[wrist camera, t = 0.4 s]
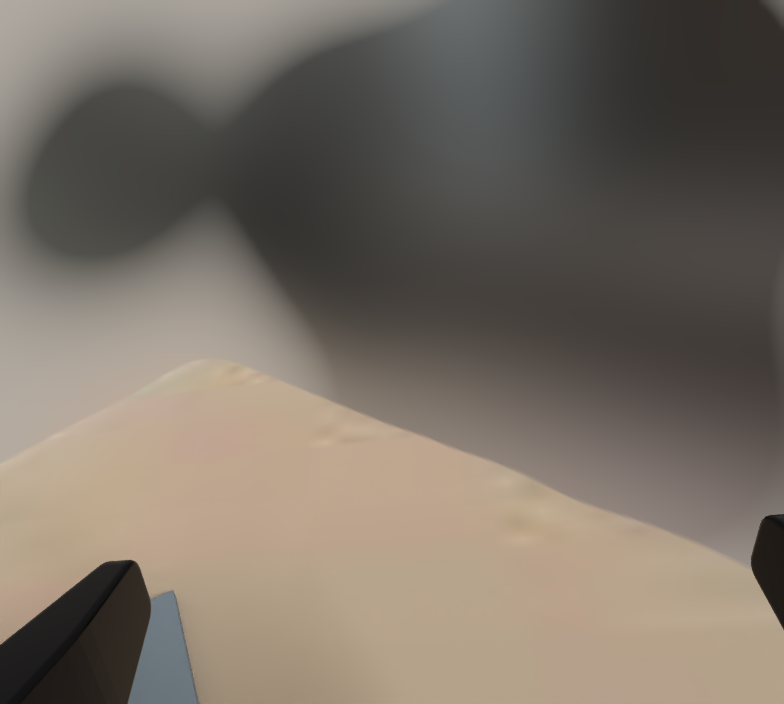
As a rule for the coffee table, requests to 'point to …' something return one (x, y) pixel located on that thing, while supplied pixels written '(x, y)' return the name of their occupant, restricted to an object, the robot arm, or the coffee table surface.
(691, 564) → the coffee table surface
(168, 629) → the mat
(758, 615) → the coffee table surface
